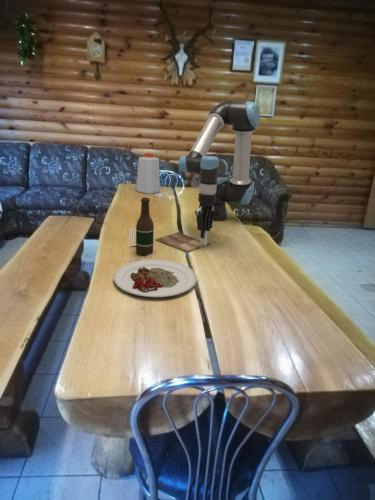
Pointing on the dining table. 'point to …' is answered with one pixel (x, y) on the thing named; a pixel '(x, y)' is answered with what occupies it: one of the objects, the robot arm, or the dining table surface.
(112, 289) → the dining table surface
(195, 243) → the plank
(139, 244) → the beer bottle
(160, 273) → the plated food
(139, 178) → the white thread spool
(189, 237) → the floor panel
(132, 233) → the newspaper
